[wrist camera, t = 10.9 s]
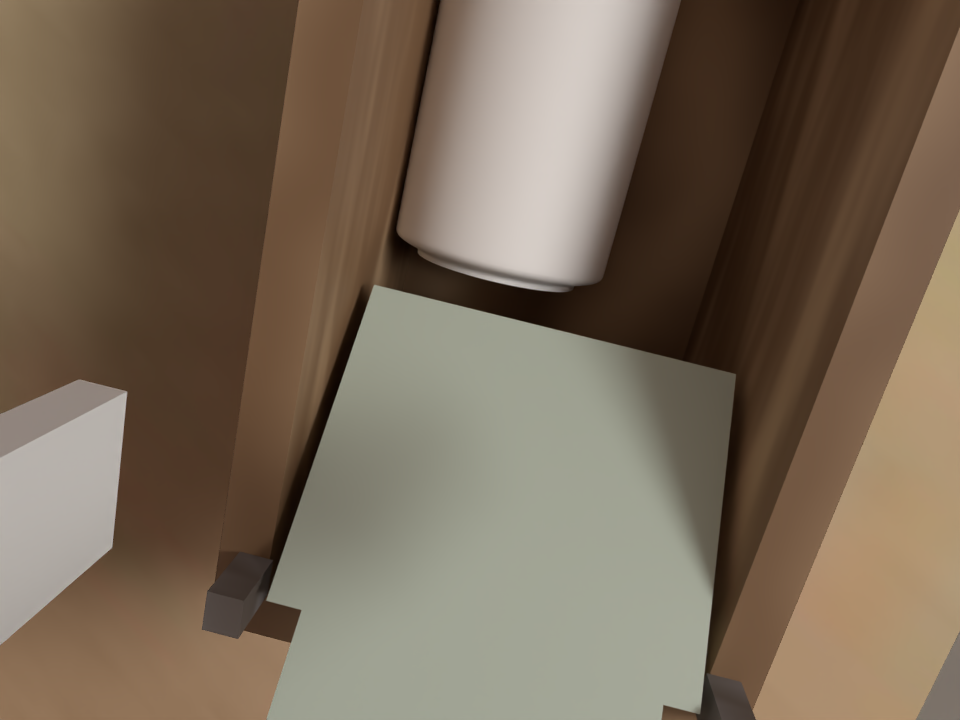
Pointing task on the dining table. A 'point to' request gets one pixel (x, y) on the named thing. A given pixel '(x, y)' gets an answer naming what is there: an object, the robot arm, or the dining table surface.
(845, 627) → the dining table surface
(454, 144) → the beverage can
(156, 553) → the dining table surface
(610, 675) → the lid
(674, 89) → the crate
